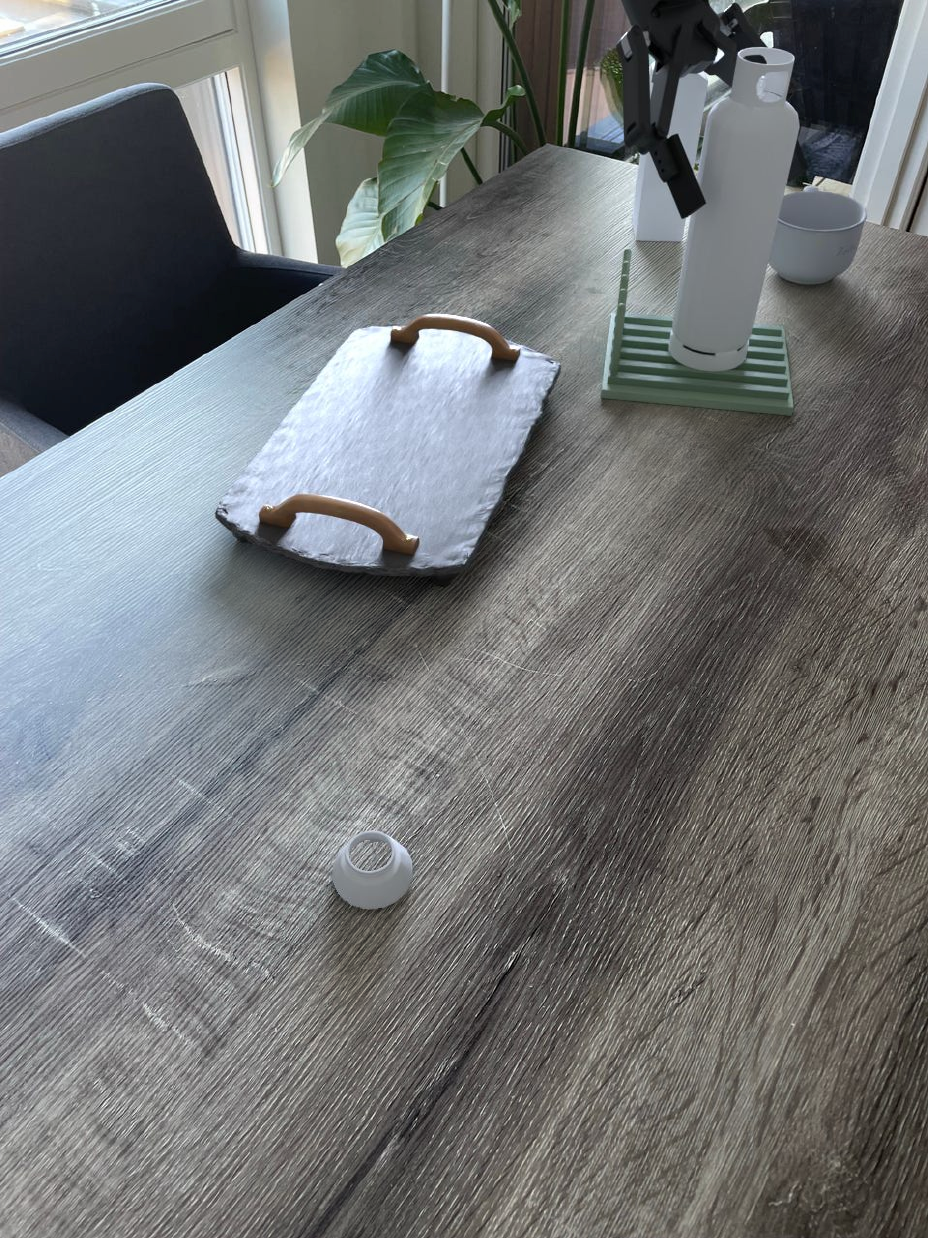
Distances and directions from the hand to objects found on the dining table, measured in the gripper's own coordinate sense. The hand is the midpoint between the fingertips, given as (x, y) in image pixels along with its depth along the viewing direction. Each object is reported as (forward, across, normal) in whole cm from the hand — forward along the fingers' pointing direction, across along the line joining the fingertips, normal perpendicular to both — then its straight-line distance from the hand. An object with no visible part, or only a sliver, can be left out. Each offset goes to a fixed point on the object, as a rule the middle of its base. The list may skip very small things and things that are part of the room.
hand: (746, 193), depth 92 cm
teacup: (+6, -26, -20) cm, 34 cm away
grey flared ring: (+34, +61, +8) cm, 70 cm away
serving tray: (+9, +35, -17) cm, 40 cm away
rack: (+12, +1, -14) cm, 19 cm away
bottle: (+11, 0, -13) cm, 17 cm away
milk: (-6, -18, -33) cm, 38 cm away
